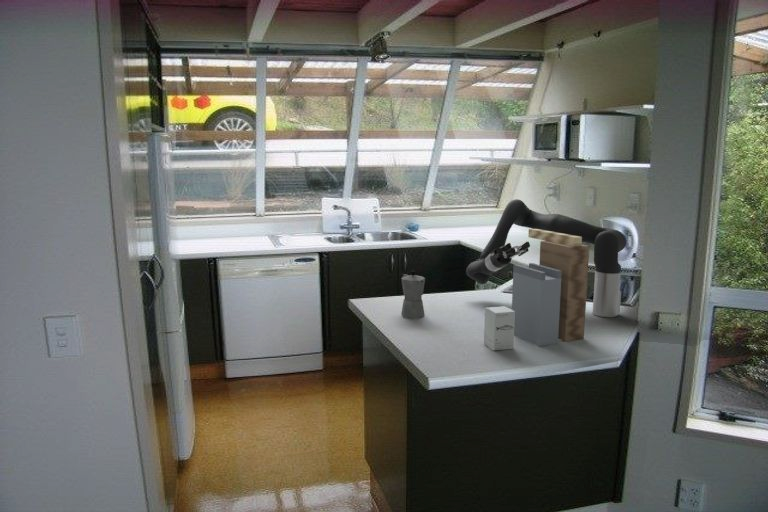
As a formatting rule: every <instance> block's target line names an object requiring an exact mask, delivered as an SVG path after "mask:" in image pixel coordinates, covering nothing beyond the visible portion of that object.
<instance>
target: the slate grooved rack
mask: <svg viewBox="0 0 768 512" xmlns="http://www.w3.org/2000/svg"><path fill="white" fill-rule="evenodd" d="M512 267H513V268H512V270H513V273H512V291H511V292H512V295H511V310H513V311H515V326H514V336H516V337H518V338H520V339H522V340H525V341H527V342H529V343H530V344H533V345H535V346H537V347H541V346H543V347H544V346H549V345H553V344H558V343H559V339H558V332H559V313H560V294H561V275H562V271H561V270H557V269H553V268H549V267H546V266H542V265H539V264H537V263H533V262H529V263H528V267H527V266H524V265H520V264H513V266H512Z"/></svg>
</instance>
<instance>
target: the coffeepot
mask: <svg viewBox="0 0 768 512" xmlns="http://www.w3.org/2000/svg"><path fill="white" fill-rule="evenodd" d="M410 272H411V274H410V275H408V274H405V273H401V274H400V275H399V279H398V280H399V283H400V289H401V293H402V294H403V295H404V299H403V301H402V308H401V312H400V313H401V316H402V317H403V318H405V319H410V318H411V319H414V318H416V319H421V317H422V318H423V317H425V315H426V314H425V310H424V309H425V308H424V304H423V303H424V302H423V298H422V296H423V295H424V290H425V289H424V288H425V283H426V278H425V277H424V276H421V275H416V270H414V269H413V270H411V271H410ZM411 319H410V320H411ZM414 320H415V319H414Z"/></svg>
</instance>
